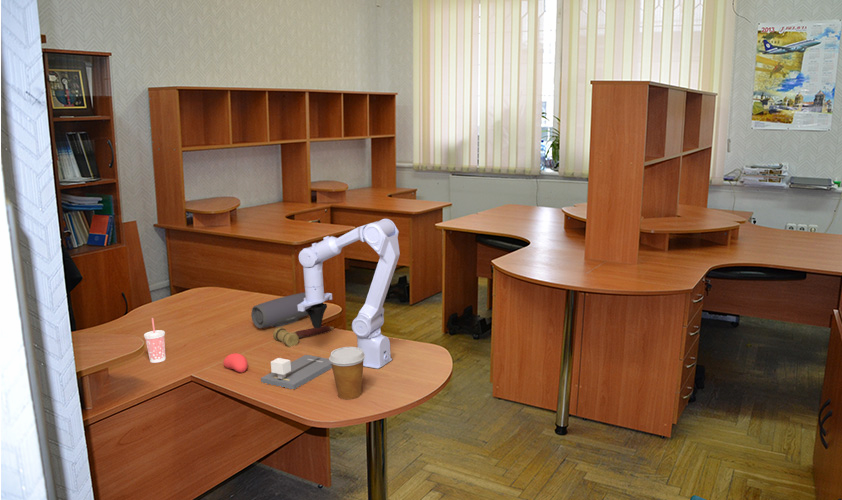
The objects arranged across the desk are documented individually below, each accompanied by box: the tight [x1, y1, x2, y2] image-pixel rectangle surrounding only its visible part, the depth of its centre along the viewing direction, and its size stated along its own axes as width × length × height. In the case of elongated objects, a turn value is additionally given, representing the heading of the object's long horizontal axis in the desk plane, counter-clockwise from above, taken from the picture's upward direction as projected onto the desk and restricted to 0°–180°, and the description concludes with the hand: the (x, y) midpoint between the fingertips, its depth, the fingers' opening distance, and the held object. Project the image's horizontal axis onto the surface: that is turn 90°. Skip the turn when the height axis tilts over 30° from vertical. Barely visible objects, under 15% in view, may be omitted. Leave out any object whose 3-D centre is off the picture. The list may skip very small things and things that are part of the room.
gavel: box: [272, 325, 335, 348], centre depth 222 cm, size 21×5×10 cm
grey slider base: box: [260, 354, 332, 390], centre depth 189 cm, size 12×20×2 cm, turn 151°
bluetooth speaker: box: [250, 292, 309, 329], centre depth 237 cm, size 23×9×10 cm, turn 136°
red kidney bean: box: [222, 352, 249, 373], centre depth 195 cm, size 5×9×6 cm
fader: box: [270, 357, 291, 379], centre depth 182 cm, size 4×3×5 cm
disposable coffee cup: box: [328, 346, 365, 400], centre depth 173 cm, size 10×10×12 cm
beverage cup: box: [143, 317, 166, 364], centre depth 204 cm, size 6×6×14 cm
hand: (317, 327), depth 202 cm, fingers closed
